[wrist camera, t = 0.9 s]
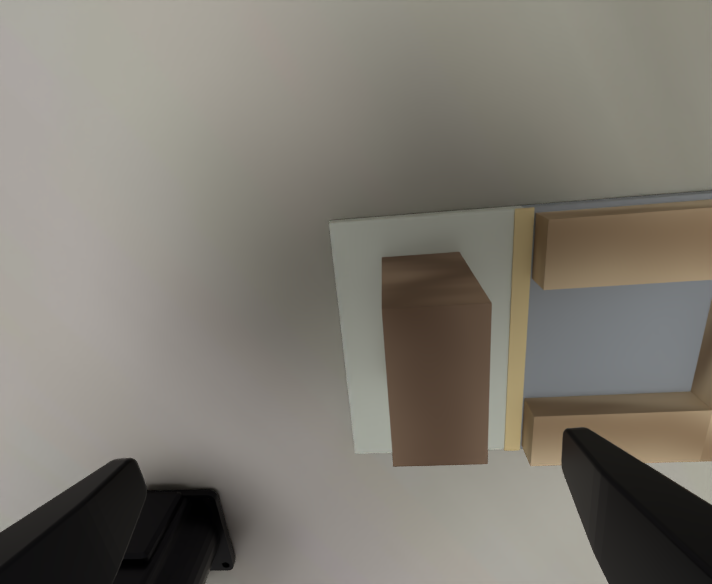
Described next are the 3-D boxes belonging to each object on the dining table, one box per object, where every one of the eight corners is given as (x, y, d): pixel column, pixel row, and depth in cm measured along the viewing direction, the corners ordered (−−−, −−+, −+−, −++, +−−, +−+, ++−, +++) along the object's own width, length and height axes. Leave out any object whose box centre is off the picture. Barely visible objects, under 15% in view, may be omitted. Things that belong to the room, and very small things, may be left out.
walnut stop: (459, 251, 19) (491, 303, 13) (459, 375, 21) (487, 464, 16) (381, 257, 19) (381, 309, 14) (390, 379, 22) (393, 466, 16)
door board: (691, 435, 22) (700, 444, 22) (355, 446, 24) (354, 455, 23) (750, 187, 18) (764, 189, 17) (330, 220, 19) (328, 223, 19)
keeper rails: (699, 439, 22) (721, 460, 20) (521, 445, 23) (530, 465, 21) (760, 195, 17) (793, 201, 16) (535, 212, 18) (548, 219, 17)
